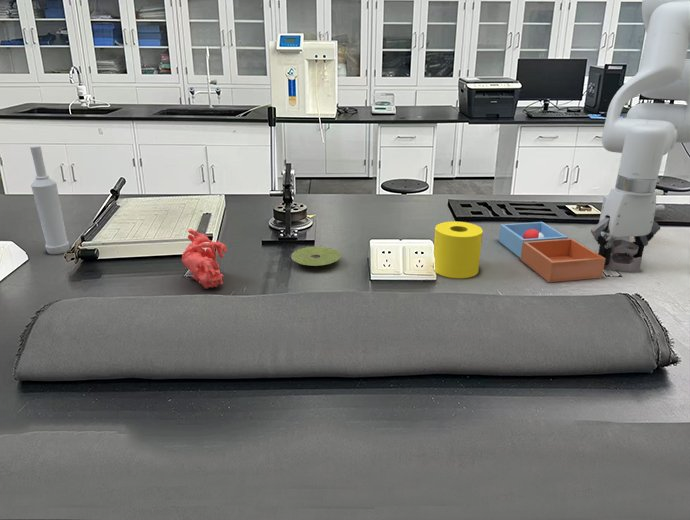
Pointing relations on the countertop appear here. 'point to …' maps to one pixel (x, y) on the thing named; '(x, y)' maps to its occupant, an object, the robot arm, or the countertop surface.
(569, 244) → the bin
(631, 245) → the dental mold
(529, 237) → the molecule
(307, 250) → the green sanding disc
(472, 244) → the tape roll
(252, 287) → the countertop surface
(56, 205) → the bottle
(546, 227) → the blue bin
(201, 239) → the anatomical heart
